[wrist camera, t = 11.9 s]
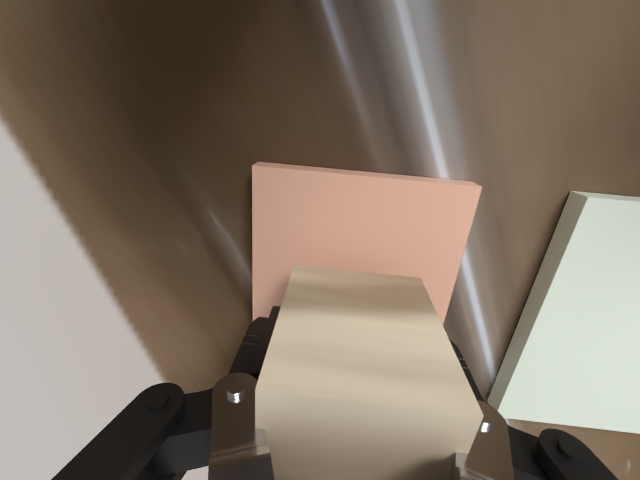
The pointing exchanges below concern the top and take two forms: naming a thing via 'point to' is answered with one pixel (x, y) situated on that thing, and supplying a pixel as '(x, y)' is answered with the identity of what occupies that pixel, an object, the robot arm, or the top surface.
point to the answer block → (362, 382)
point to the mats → (442, 268)
